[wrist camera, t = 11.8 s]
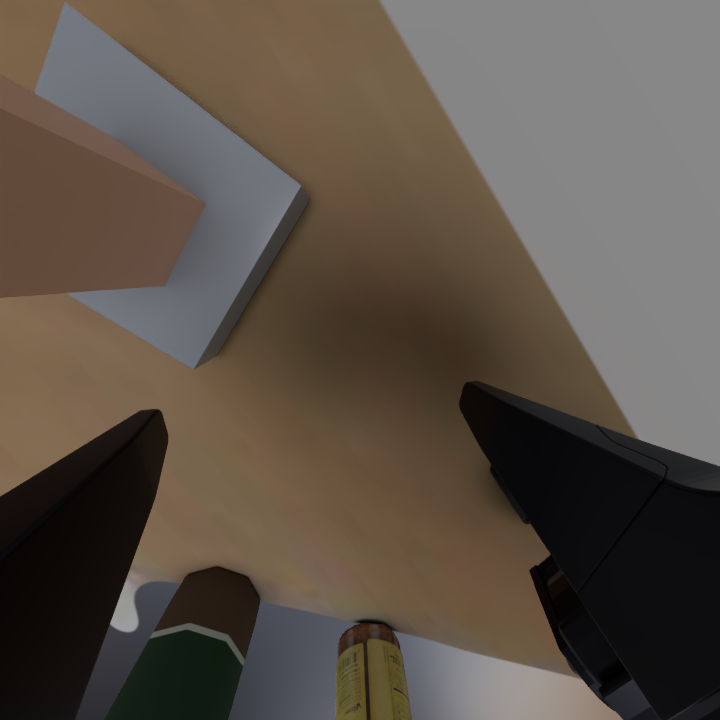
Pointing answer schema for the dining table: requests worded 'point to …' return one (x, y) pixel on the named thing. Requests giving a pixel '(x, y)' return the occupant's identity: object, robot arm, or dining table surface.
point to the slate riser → (190, 170)
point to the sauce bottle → (370, 675)
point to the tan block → (81, 205)
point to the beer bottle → (193, 652)
